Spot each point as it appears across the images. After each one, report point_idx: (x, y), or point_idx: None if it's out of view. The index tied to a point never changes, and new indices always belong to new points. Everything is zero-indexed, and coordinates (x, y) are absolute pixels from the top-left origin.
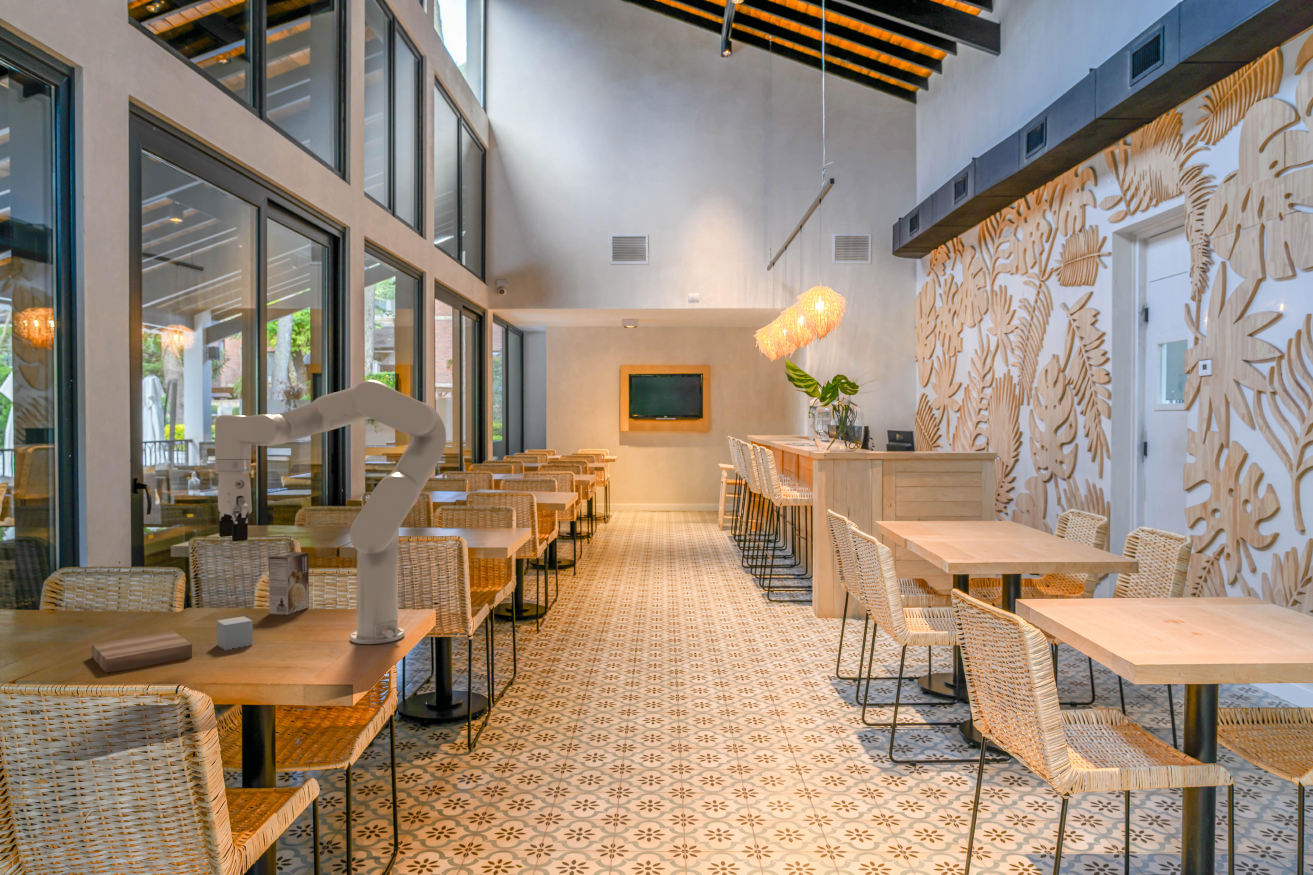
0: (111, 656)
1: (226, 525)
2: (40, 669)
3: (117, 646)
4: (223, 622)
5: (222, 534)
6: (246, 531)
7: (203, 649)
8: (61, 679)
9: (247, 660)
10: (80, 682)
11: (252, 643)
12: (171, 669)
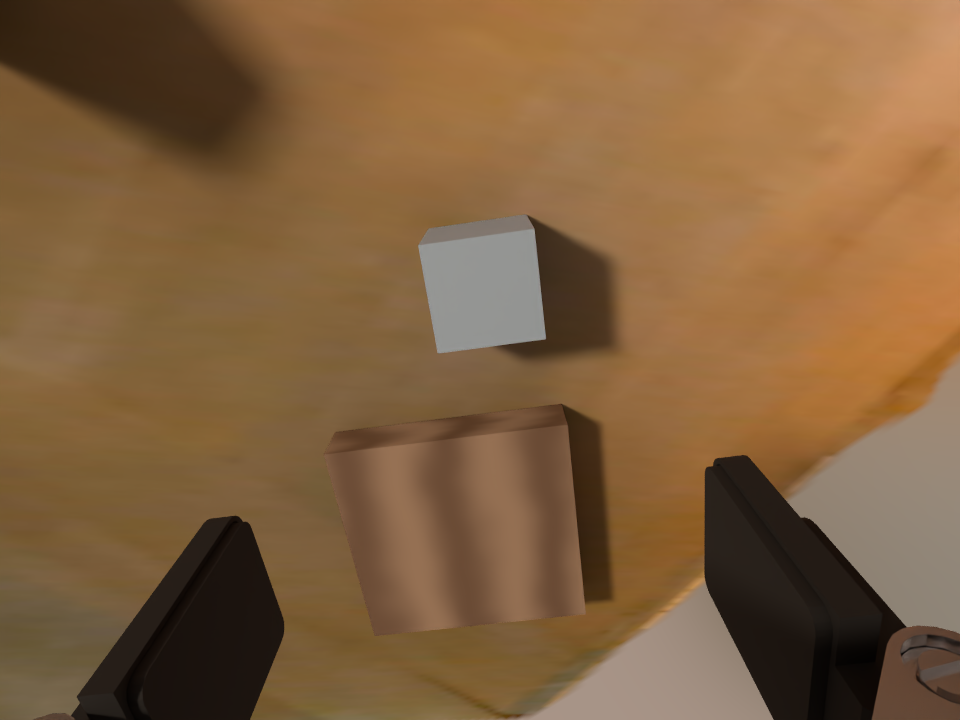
0: (564, 603)
1: (216, 699)
2: (435, 684)
3: (448, 589)
4: (492, 336)
5: (275, 634)
6: (799, 528)
7: (478, 364)
8: (565, 653)
9: (729, 264)
10: (624, 625)
11: (526, 215)
12: (660, 460)
